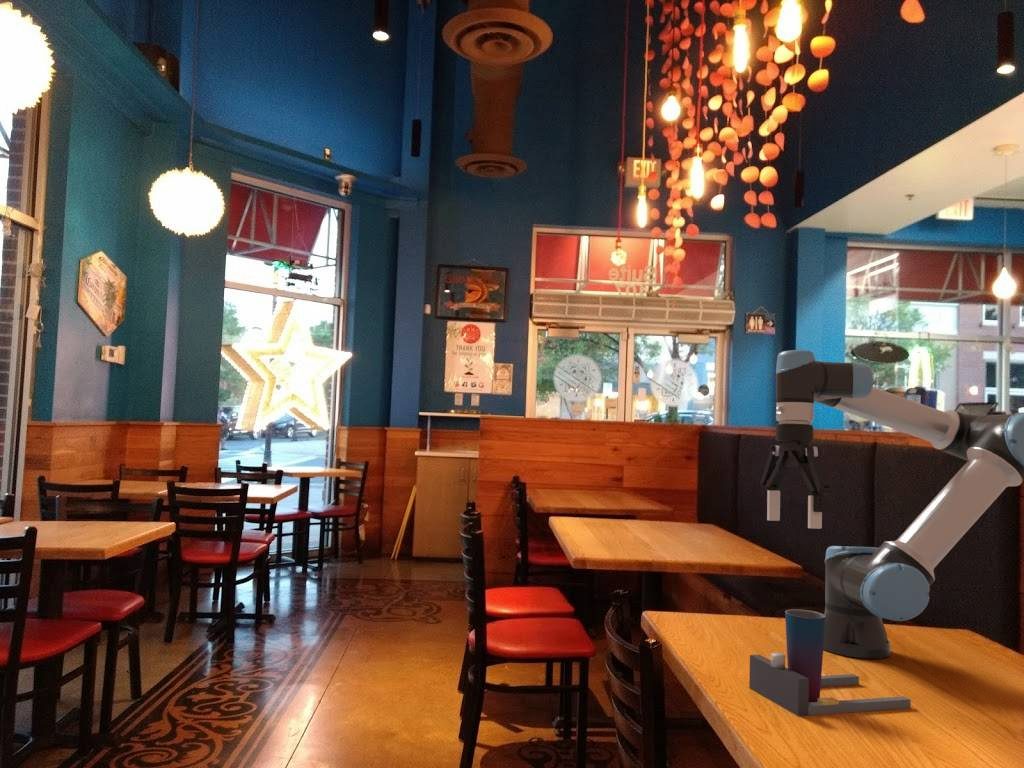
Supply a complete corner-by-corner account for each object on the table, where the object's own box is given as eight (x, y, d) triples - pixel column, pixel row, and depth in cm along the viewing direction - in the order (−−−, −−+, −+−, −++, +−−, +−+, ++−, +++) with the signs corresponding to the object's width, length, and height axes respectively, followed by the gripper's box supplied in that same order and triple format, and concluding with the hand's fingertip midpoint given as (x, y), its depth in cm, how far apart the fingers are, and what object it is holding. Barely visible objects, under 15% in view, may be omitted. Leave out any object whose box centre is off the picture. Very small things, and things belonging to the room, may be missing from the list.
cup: (828, 708, 127) (829, 619, 129) (787, 703, 129) (788, 616, 130) (820, 695, 134) (821, 611, 135) (781, 691, 135) (782, 607, 137)
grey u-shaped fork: (853, 681, 143) (853, 639, 143) (910, 708, 129) (910, 661, 130) (748, 688, 136) (748, 643, 137) (797, 716, 123) (797, 667, 123)
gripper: (745, 423, 167) (743, 517, 166) (818, 421, 143) (817, 531, 142) (773, 424, 169) (772, 517, 168) (851, 423, 145) (850, 532, 144)
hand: (793, 524), depth 155 cm, fingers open, 13 cm apart
